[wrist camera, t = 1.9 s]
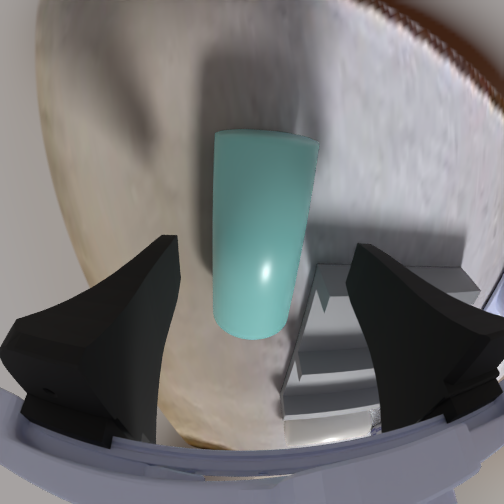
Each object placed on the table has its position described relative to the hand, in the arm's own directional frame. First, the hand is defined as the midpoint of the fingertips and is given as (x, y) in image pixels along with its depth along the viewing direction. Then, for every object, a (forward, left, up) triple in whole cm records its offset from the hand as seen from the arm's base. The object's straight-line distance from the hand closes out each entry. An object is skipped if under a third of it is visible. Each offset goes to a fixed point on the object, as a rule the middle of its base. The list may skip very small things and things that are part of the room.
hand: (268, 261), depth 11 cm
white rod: (-9, +23, -4) cm, 25 cm away
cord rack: (-9, +10, -4) cm, 14 cm away
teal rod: (0, 0, -4) cm, 4 cm away
